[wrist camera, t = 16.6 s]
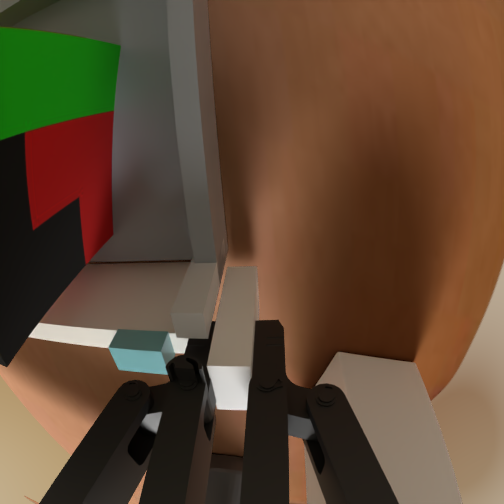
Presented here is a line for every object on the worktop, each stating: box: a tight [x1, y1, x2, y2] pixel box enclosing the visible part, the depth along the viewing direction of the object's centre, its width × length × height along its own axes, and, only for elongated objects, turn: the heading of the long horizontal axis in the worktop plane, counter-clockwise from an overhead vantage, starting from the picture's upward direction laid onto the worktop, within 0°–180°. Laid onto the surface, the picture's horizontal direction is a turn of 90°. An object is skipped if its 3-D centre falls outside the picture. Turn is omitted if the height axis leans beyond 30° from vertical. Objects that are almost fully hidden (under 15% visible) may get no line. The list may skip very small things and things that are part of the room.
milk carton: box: [304, 352, 463, 504], centre depth 14 cm, size 7×7×19 cm
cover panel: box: [29, 262, 191, 375], centre depth 16 cm, size 1×18×7 cm, turn 94°
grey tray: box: [0, 0, 228, 339], centre depth 11 cm, size 16×20×7 cm
